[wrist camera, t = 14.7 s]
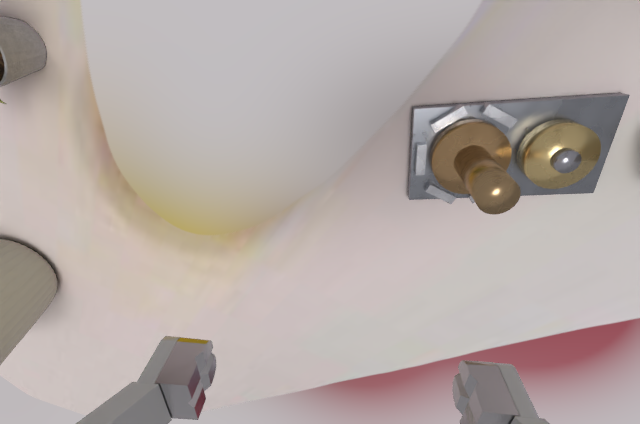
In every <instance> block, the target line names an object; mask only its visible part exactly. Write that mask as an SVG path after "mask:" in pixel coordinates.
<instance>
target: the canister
mask: <svg viewBox="0 0 640 424" xmlns="http://www.w3.org/2000/svg"><path fill="white" fill-rule="evenodd" d="M57 285H58V284H57V278H56V274H55V273H54V270H53V269H52V268H51V265H49V264H48V263H47V261H46V260H45V259H43V257H42V256H40V255H39V254H38V253H37V252H35V251H33V250H32V249H30V248H28V247H26V246H25V245H21V244H20V243H16V242H14V241H8V240H6V239H0V365H1V364H2V362H3V361H4V360H5V359H6V358H7V356H8V355H9V354H10V353H11V351H12V350H13V349H14V348H15V347H16V345H17V344H18V343H19V342H20V341H21V339H22V338H23V337H24V336H25V335H26V333H27V332H28V331H29V330H30V329H31V327H32V326H33V325H34V324H35V322H36V321H37V320H38V319H39V317H40V316H41V315H42V313H43V312H44V311H45V310H46V308H47V307H48V306H49V304H50V303H51V302H52V300H53V298H54V296H55V294H56V291H57Z"/></svg>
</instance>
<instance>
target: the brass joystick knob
mask: <svg viewBox="0 0 640 424" xmlns="http://www.w3.org/2000/svg"><path fill="white" fill-rule="evenodd" d="M511 154H512V152H511V145H510V142H509V140H508V138H507V137H506V136H505V134H504V133H503V132H501V131H500V130H499V129H498V128H497V127H495V126H494V125H493V124H491V123H489V122H487V121H485V120H480V119H467V120H462V121H459V122H456V123H454V124H452V125H450V126H449V127H447V128H446V129H445V130H444V131H442V132H441V133H440V134H439V136H438V137H437V138H436V140H435V141H434V143H433V145H432V147H431V151H430V157H429V160H430V166H431V169H432V171H433V174H434V176H435V178H436V180H437V181H438V182H439V184H440V185H441V186H442V187H444V188H445V189H447V190H449V191H451V192H454V193H458V194H471V196H472V198H473V199H474V201H475V202H476V204H477V206H478V207H479V209H480V210H482V211H483V212H485V213H488V214H500V213H503V212H506V211H508V210H510V209H511V208H512V207H514V206H515V204H516V203H517V202H518V200H519V198H520V194H521V191H520V187H519V185H518V184H517V183H516V182H515V181H514V179H513V178H512V177H511V176H510V175H509V174H508V173H507V172H506V170H507V169H508V166H509V164H510V161H511Z"/></svg>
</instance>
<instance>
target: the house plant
mask: <svg viewBox="0 0 640 424" xmlns="http://www.w3.org/2000/svg"><path fill="white" fill-rule="evenodd" d="M46 55H47V53H46V47H45V44H44V42H43V40H42V39H41V37H40V36H39V34H38V33H37V32H36V31H35V30H34V29H33V28H32V27H31V26H30V25H28V24H27V23H25V22H23V21H21V20H18V19H13V18H8V17H3V16H0V87H1V86H4V85H6V84H8V83H10V82H13V81H15V80H17V79H19V78H22V77H24V76H26V75H29V74H31V73H33V72H35V71H38V70H40V69H42V68H43V67H44V66H45V64H46ZM0 102H1V103H4V102H2V101H1V99H0ZM4 104H6V103H4Z"/></svg>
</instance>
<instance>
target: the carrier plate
mask: <svg viewBox="0 0 640 424" xmlns="http://www.w3.org/2000/svg"><path fill="white" fill-rule="evenodd" d="M628 98H629V95H627V94H624V93H609V94H594V95H579V96H563V97H548V98H533V99H518V100H503V101H487V102H472V103H457V104H442V105H426V106H413V108H412V126H411V144H410V162H409V180H408V198H409V200H414V199H442V200H444V201H446V202H448V203H450V204H451V203H452V202H453V201H454V200H455V198H468V197H469V198H470V200H471V202H472V203H474V202H475V201H474V199H473V198H472V196H471V194H458V193H454V192H451V191H449V190H447V189H445V188H444V187H442V186H441V185H440V184H439V182H438V181H437V180H436V178H435V176H434V174H433V171H432V169H431V166H430V160H429V157H430V151H431V147H432V145H433V143H434V141H435V140H436V138H437V137H438V136H439V134H440V133H441V132H442V131H444V130H445V129H446V128H447V127H449V126H450V125H452V124H454V123H456V122H459V121H462V120H467V119H480V120H485V121H487V122H489V123H491V124H493V125H494V126H495V127H497V128H498V129H499V130H500V131H501V132H503V133H504V134H505V136H506V137H507V138H508V140H509V142H510V145H511V152H512V154H511V161H510V164H509V166H508V169H507V170H506V172H507V173H508V174H509V175H510V176H511V177H512V178H513V179H514V181H515V182H516V183H517V184H518V185H519V187H520V191H521V194H520V196H523V195H551V194H578V193H593V192H594V190H595V187H596V184H597V182H598V179H599V176H600V174H601V171H602V168H603V165H604V163H605V160H606V157H607V155H608V152H609V149H610V147H611V144H612V141H613V138H614V136H615V133H616V130H617V128H618V125H619V122H620V120H621V117H622V114H623V111H624V109H625V106H626V103H627V101H628Z"/></svg>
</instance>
